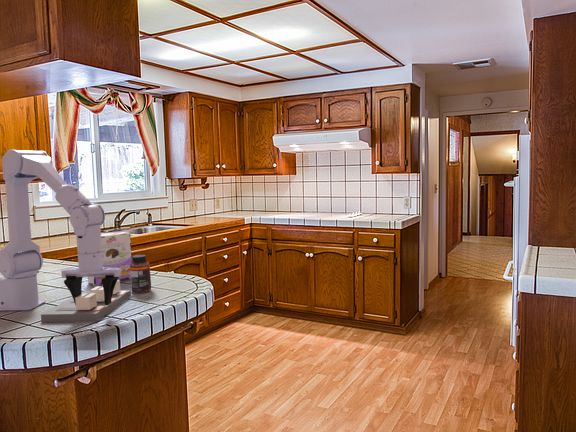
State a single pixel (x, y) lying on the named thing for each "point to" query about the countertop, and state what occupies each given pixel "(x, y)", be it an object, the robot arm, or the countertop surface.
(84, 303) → the slotted white cube
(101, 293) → the knob
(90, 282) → the candy box
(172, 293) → the countertop surface
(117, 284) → the knob
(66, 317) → the panel
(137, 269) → the supplement bottle
